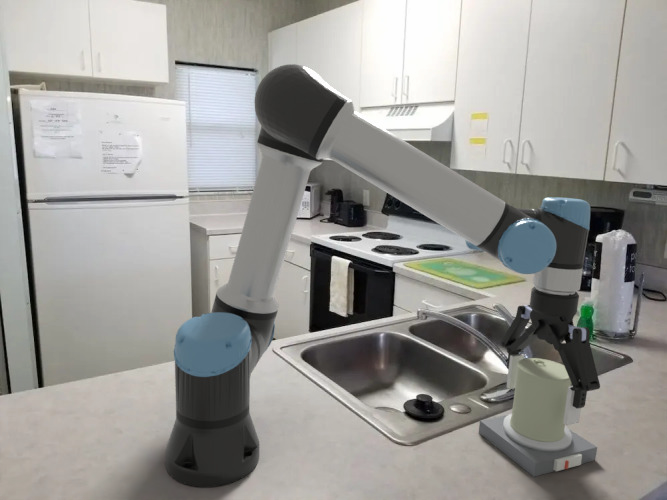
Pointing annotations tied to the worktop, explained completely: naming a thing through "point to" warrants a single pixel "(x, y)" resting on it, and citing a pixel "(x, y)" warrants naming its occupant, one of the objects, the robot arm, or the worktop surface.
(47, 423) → the worktop surface
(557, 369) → the can
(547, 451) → the scale
